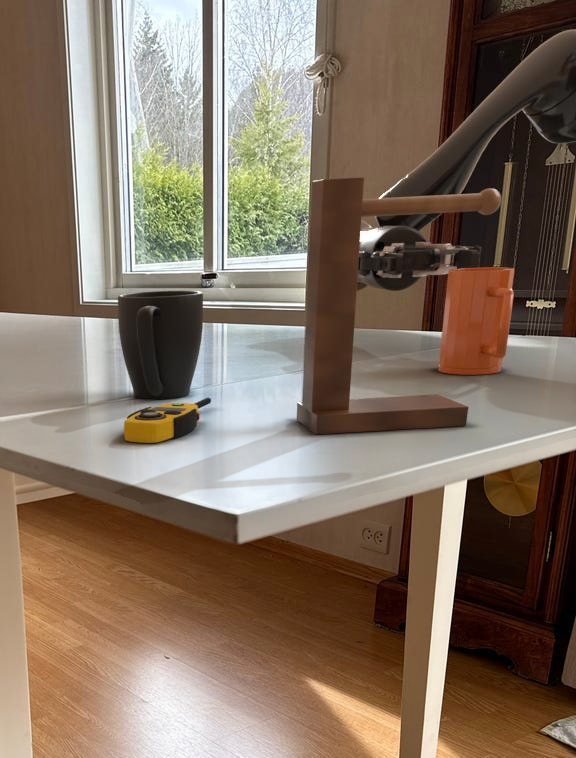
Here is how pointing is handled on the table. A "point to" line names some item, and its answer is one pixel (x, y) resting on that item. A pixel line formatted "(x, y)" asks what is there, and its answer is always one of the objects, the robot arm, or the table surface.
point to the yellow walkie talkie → (162, 422)
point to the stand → (337, 312)
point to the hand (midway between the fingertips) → (437, 262)
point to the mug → (161, 340)
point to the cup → (476, 320)
